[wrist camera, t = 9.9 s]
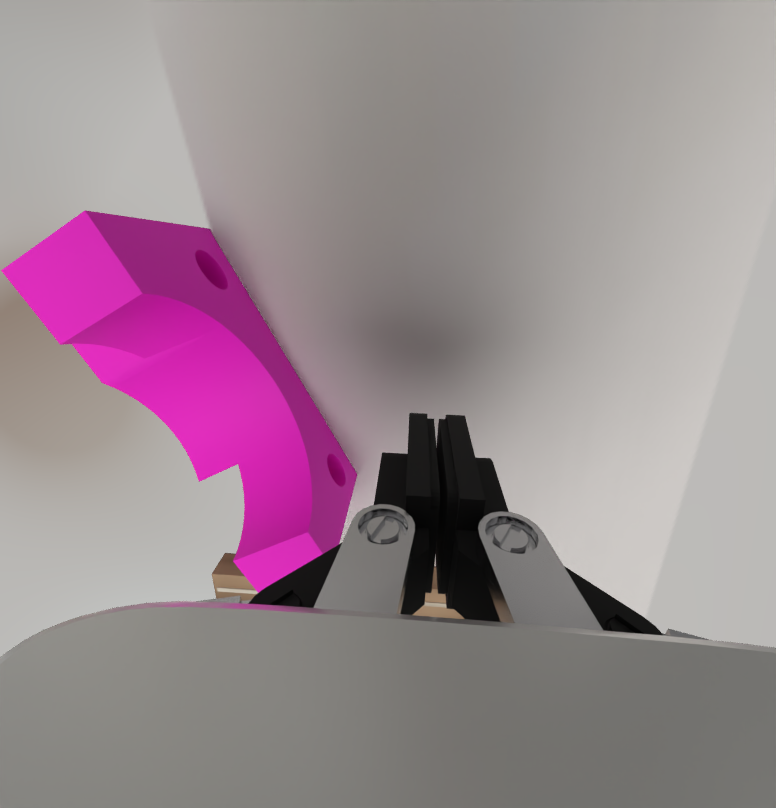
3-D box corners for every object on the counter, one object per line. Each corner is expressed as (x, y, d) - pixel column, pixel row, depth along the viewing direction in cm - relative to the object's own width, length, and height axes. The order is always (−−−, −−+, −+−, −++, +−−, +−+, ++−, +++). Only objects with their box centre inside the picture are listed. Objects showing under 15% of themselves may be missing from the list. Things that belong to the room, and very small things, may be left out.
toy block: (115, 289, 20) (-49, 306, 13) (210, 228, 18) (85, 210, 11) (272, 508, 24) (214, 610, 17) (357, 472, 23) (332, 568, 16)
